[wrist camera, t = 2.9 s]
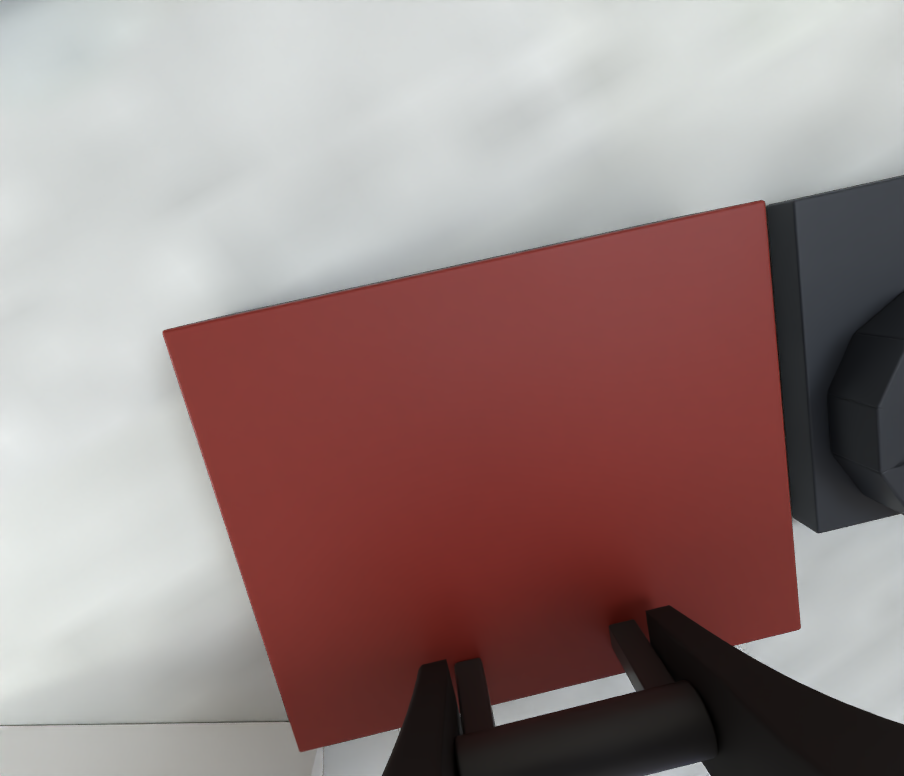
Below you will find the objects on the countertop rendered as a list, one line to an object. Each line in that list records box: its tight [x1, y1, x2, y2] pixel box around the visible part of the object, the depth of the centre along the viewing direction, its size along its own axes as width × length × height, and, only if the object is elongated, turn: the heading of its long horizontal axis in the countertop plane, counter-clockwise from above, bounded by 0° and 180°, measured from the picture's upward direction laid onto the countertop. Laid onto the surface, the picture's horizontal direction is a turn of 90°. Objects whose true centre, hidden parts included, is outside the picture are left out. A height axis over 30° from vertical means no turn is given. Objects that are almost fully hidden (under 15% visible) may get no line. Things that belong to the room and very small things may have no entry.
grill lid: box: [163, 200, 801, 776], centre depth 12 cm, size 11×13×4 cm
